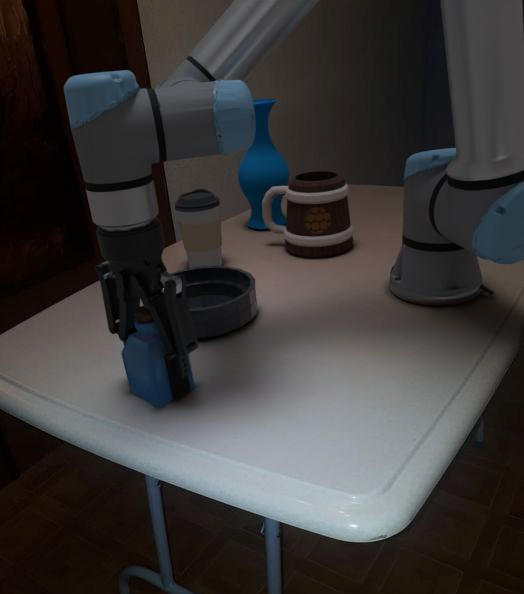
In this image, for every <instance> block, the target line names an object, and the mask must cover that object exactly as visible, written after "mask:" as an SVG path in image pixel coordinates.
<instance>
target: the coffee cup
mask: <svg viewBox="0 0 524 594" xmlns="http://www.w3.org/2000/svg"><path fill="white" fill-rule="evenodd" d="M220 205H221V202H220V198H219V197H218V196H217V195H215V194H214V193H213V191H210V190H207V189H206V188H196V189H193V190H192V191H189V192H184V193H181V194H180V195H179V196H178V199H177V200H176V201H174V210H175V211H176V216H177V222H178V227H179V231H180V237H181V241H182V244H183V248H184V250H185V254H186V258H187V262H188V267H189V268H194V267H204V266H223V254H222V253H223V252H222V245H223V238H222V217H221V214H220V213H221V211H220Z"/></svg>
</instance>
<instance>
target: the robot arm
mask: <svg viewBox="0 0 524 594" xmlns="http://www.w3.org/2000/svg"><path fill="white" fill-rule="evenodd" d="M439 1H440V9H441V10H440V11H441V20H442V29H443V38H444V39H443V40H444V50H445V58H446V67H447V79H448V87H449V97H450V107H451V116H452V127H453V133H454V134H453V135H454V136H453V137H454V144H455V147H450V148H449V147H447V148H440V149H433V150H426V151H420V152H416V153H414V154H412V155H410V156H409V157H408V158H407V160H406V161H405V168H404V175H403V179H402V180H403V203H402V204H403V206H402V208H403V209H402V230H401V231H402V232H401V233H402V235H401V247H400V249H399V251H398V254H397V257H396V260H395V262H394V265H392V267H391V269H390V272H389V290H390V292H391V293H392V294H393V295H394V296H396V297H397V298H399V299H400V300H403V301H406V302H409V303H413V304H417V305H423V306H433V307H434V306H437V307H439V306H454V305H460V304H464V303H467V302H470V301H473V300H474V299H476V298H477V297H479V295H480V294H481V292H482V291H483V292H486V293H487V294H489V295H490V296H493V294H494V293H495V291H494V290H492V289H490V288H489V287H487V286H485V285H484V284H483V276H482V272H481V267H480V263H479V259H478V258H480V259H482V260H486V261H487V260H488V261H490V262H493V263H496V264H498V265H512V264H516V263H519V262H522V261H524V11H523V10H524V9H523V0H439ZM318 2H320V0H233V1H232V3H231V4H230V5H229V6H228V7H227V8H226V10H224V12H223V13H222V14H221V16H220V17H219V18H218V19H217V21H216V22H215V23H214V24H213V25H212V26H211V27H210V29H209V30H208V31H207V32H206V33H205V35H204V36H203V37H202V38H201V40H200V41H199V42H198V43H197V44H196V45H195V47H194V48H193V49H192V50H191V51H190V53H189V54H188V56H187V57H186V58H185V59H184V60H183V61H182V62H181V64H180V65H179V66H178V67H177V68H176V70H175V71H173V73H172V74H171V75H170V76H169V77H167V78H166V79H163V80H162V81H161V82H160V84H159V85H158V86H157V87H156V88H147V87H145V88H140V86H139V84H138V82H137V78H136V75H135V74H134V72H132V71H131V70H128V69H125V70H113V71H101V72H91V73H82V74H77V75H76V74H75V75H72V76H71V77H69V78H68V79H67V80H66V82H65V83H64V85H63V93H64V98H65V99H64V100H65V104H66V109H67V110H66V111H67V114H68V115H67V116H68V118H69V119H68V120H69V127H70V130H71V134H72V138H73V142H74V147H75V151H76V154H77V158H78V162H79V166H80V170H81V174H82V178H83V181H84V186H85V193H86V196H87V201H88V205H89V210H90V214H91V215H90V216H91V219H92V222H93V223H94V225H96V226H97V229H96V230H95V233H96V238H97V242H98V246H99V250H100V254H101V257H102V258H103V259H104V260H105V261H103V262H101V263H98V264H96V265H95V266H94V270H95V273H96V276H97V278H98V280H99V283H100V289H101V294H102V299H103V306H104V310H105V317H106V322H107V329H108V331H109V333H110V334H111V335H115V334H116V335H117V336H118V338H119V340H120V341H121V342H122V343H123V347H124V346H125V344H126V341H127V339H128V337H129V335H131V334H133V333H135V332H137V331H138V330H137V329H136V327H135V322H134V320H135V319H136V317H135V314H134V310H135V309H136V308H138V307H140V306H141V303H142V306H144V307H145V308H148V309H149V311H150V313H151V315H152V317H153V320H154V322H155V324H156V326H157V329H158V331H159V333H160V335H161V338H162V340H163V342H164V344H165V347H166V349H167V351H168V353H169V354H167V355H166V356H164V357H165V362H166V367H167V372H168V377H169V382H170V387H171V393H172V398H173V400H174V401H176V402H177V401H179V400H180V399H182V398H183V397H184V396H186V395H187V394H188V393H190V392H192V389H191V388H190V383H189V377H188V374H189V372H190V369H189V364H188V357H187V354H189V355H190V354H191V353H192V352H194V351H195V350H196V349H198V348H199V341H198V339H197V337H196V333H195V329H194V324H193V320H192V316H191V312H190V308H189V304H188V299H187V295H186V277H185V276H184V275H183V274H179V275H177V276H174V275H172V274H170V272H168V271H167V266H166V264H165V263H164V261H163V257H162V256H163V253H164V250H165V249H166V241H165V236H164V231H163V224H162V220H161V219H159V218H158V215H159V213H160V210H159V204H158V203H159V202H158V199H157V198H158V197H157V192H156V187H155V181H154V175H153V170H152V165H153V164H160V163H161V164H162V163H165V162H171V161H172V162H173V161H180V160H189V159H194V158H195V159H196V158H204V157H212V156H221V155H222V156H228V155H229V154H232V153H237V152H243V151H247V150H248V149H249V148H250V147H251V146H252V144H253V142H254V138H255V130H256V122H255V111H254V104H253V100H254V99H253V97H252V93H251V91H250V89H249V87H248V83H249V81H250V80H251V79H252V78H253V77H254V76H255V75H256V74H257V73H258V71H259V70H260V69H261V68H262V67H263V66H264V64H265V63H266V62H267V61H268V60H269V59H270V58H271V56H272V55H273V54H274V53H275V52H276V51H277V49H278V48H279V47H280V46H281V45H282V44H283V43H284V41H286V39H288V37H289V35H290V34H291V33H292V32H293V31H294V30H295V29H296V28H297V27H298V26H299V24H300V23H301V22H302V21H303V19H305V18H306V16H307V15H308V14H309V13H310V12H311V11H312V10H313V8H314V7H315V6H316V5H317V4H318ZM158 293H159V295H158V296H157V297H155V298H153V299H151V297H153V296H155V295H157V294H158ZM175 344H176V346H175Z"/></svg>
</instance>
